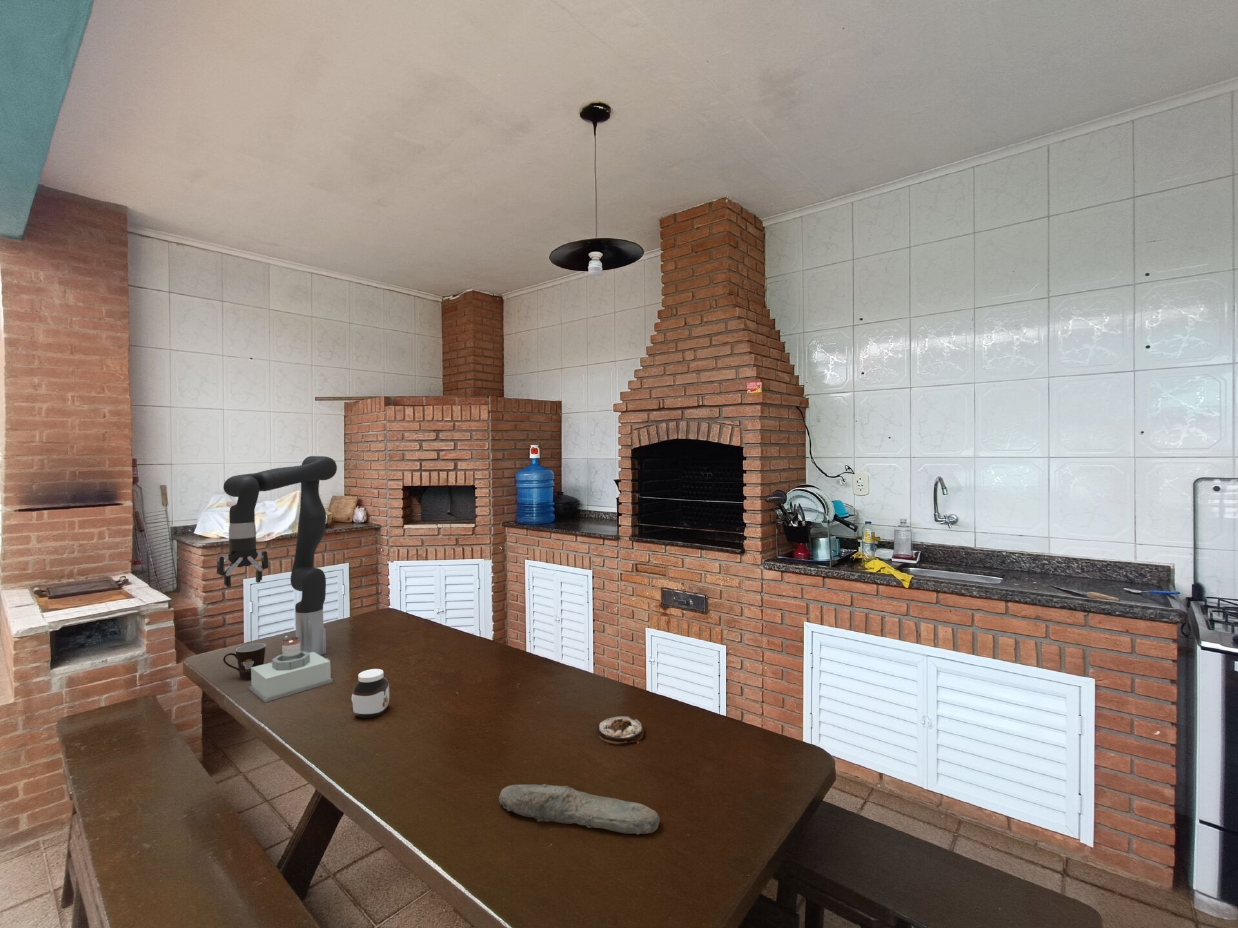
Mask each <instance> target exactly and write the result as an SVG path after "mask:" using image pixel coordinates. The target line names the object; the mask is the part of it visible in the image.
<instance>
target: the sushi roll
mask: <svg viewBox="0 0 1238 928" xmlns="http://www.w3.org/2000/svg"><path fill="white" fill-rule="evenodd" d="M596 730H597V734H598V738H599V739H600V740H601V741H602V742H603V743H605V744H609V745H614V746H615V745H622V746H624V745H629V744H631V743H637V744H639V743H640V742H642V741H641V740H642V739H643V736H644V727H643V725H642V723H641V722H640V721H639V720H638V719H637V718H631V716H630V715H627V716H624V715H622V716H621V715H620V716H619V715H618V716H613V717H608V718H606V719H603V720H602V721H600V722H599V724H598V725H597V729H596Z"/></svg>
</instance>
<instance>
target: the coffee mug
mask: <svg viewBox="0 0 1238 928" xmlns="http://www.w3.org/2000/svg"><path fill="white" fill-rule="evenodd" d="M266 647H267V645H266V643H260V642H259V643H249V644H244V645H242V646H239V647H237V648H236V649H235V653H233V652H229V653H227V654H225V655H223V660H222V661H223V663H224V664H225V665H226V666H228V667H229V668H232V669H233V670H236V671H238V672H239V679H240V680H241V681H251V667H255V666H259V665H263V664H265V655H266ZM228 656H234V658H235V659H236V660H237V666H238V667H236V666H234V665H231V664H229V662H227V661H226V658H227V657H228Z"/></svg>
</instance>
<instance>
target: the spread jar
mask: <svg viewBox="0 0 1238 928" xmlns="http://www.w3.org/2000/svg"><path fill="white" fill-rule="evenodd" d="M357 678H358V679H357V680H358V681H357V683H356V685H355V686H354V688H353V692H352V695H351V702H352V710H353V713H354V714H355V716H358V717H360V718H364V719H370V718H375V717H378V716H380V715H382V714H383V713H385V711H386V709H387V707H388V705H389V703H390V702H389V701H390V683H389V681H388V679H387V678H386V677H384V670H383V669H380V668H371V669H367V670H363V671H361V672H360V673H358V677H357Z"/></svg>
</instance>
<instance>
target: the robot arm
mask: <svg viewBox="0 0 1238 928" xmlns="http://www.w3.org/2000/svg"><path fill="white" fill-rule="evenodd" d="M337 470H338V466H337V463H336V460H334V459H333V458H331V457H329V456H324V455H323V456H322V455H319V456H318V455H311V456H307V457H305V458H304V460H303V461H302V463H301V464H300V465H294V466H283V467H276V468H275V467H274V468H271V469H266V470H262V471H259V472H254V473H252V472H251V473H246V474H243V473H242V474H237V475H233V476H230V477H228V478H227V479H226V480H225V481H224V483H223V491H224V492H225V493H226V495H227V496H229V497H232V498H237V500H236V504H233V505H231V506H230V507H229V512H228V513H229V519H228V521H229V526H228V555H219V556H217V559H216V561H217V562H216V574H217V575H219V576H223V585H224V587H226V588H231V587H232V577H231V574H232V572H233V571H235V570H236V569H237V568H243V567H250V566H251V567H252V568H254V569H255V583H256V584H259V583H261V581H262V580H263V571H264V570H266V569H268V568H269V557H268V552H267V550H260V551H257V526H256V521H255V520H256V515H255V511H256V505H257V503H258V499H259V495H260V492H268V491H273V490H277V489H281V488H284V487H289V486H292V485H296V484H300V502H299V514H298V523H297V536H296V546H295V554H294V559H293V563H292V568H291V574H290V585H291V587H292V588H293V589H294V590H295V591H298V592H301V600H300V601H298V602H296V604H295V606H294V607H295V611H294V612H295V613H294V614H295V615H294V616H295V617H294V618H295V637H299V638H300V651H305V652H307V653H311V652H315V653H317V654H318V655H320V656H323V655H325V654H327V635H326V634H327V633H326V631H327V629H326V628H325V627H324V603H325V601H326V593H327V592H326V591H327V579H326V577H327V576H326V574H325V572H324V571H323V569H321V568H317V567H314V559H315V553H316V551H317V548H318V547H319V545H320V543H321V541H322V539H323V538H324V535H325V533H326V527H327V526H326V525H327V513H326V509H325V506H324V504H323V502H322V499H321V496H320V493H319V492H320V490H319V489H320V481H328V480H330V479H332V478H333V477H335V475H336V473H337ZM258 557H259V558H260V559H261V561H260V562H261V565H259V563H258V562H257V561H256V560H257V558H258ZM227 560H228V561H229V562H230V563H229V564H228V565H227V568H226V569H225V570H224V568H225V563H226V562H227Z"/></svg>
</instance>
